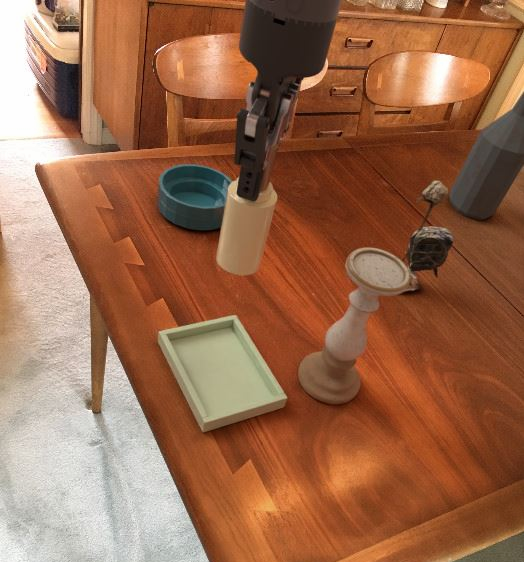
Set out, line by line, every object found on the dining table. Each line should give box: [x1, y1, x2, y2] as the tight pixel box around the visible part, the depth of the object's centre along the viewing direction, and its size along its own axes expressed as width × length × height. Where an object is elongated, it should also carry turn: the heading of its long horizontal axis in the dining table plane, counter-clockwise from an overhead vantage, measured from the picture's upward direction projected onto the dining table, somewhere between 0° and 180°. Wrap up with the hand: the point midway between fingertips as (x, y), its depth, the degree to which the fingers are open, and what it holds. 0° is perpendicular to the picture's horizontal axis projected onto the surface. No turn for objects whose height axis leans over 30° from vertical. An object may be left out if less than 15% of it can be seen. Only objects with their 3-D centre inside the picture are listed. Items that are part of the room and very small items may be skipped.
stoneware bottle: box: [215, 144, 279, 276], centre depth 58 cm, size 5×5×14 cm
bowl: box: [156, 163, 234, 231], centre depth 96 cm, size 13×13×5 cm
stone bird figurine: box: [401, 179, 457, 292], centre depth 89 cm, size 8×11×20 cm
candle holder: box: [297, 246, 410, 405], centre depth 70 cm, size 9×9×20 cm
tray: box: [157, 314, 288, 433], centre depth 73 cm, size 16×12×2 cm
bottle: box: [448, 91, 524, 221], centre depth 108 cm, size 10×10×30 cm
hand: (253, 186), depth 57 cm, fingers closed on stoneware bottle, 4 cm apart
